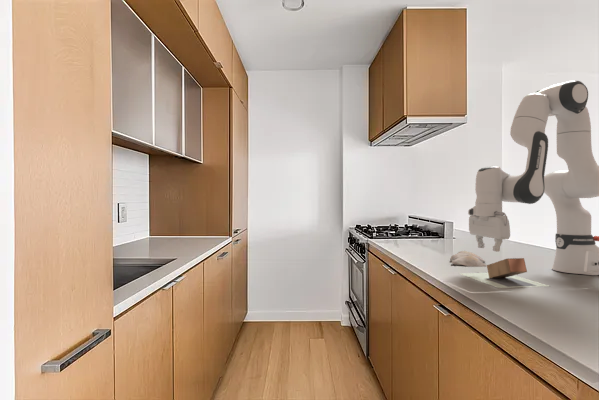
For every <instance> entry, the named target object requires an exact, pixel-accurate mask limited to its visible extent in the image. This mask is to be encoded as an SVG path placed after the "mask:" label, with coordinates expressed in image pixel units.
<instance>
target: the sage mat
mask: <svg viewBox="0 0 599 400" xmlns="http://www.w3.org/2000/svg"><path fill="white" fill-rule="evenodd" d="M458 274H459V275H461V276H464V277H467V278H470V279H472V280H475V281H478V282H481V283H483V284H486V285H489V286H491V287H495V288H497V289H505V288H506V289H508V288H509V289H510V288H511V289H512V288H531V287H532V288H536V287H537V288H539V287H540V288H541V287H550V285H549V284H545V283H542V282H538V281H534V280H532V279H528V278H525V277H523V276H518V275H514V276H510V277H506V278H489V274H488V272H464V273H463V272H462V273H459V272H458Z"/></svg>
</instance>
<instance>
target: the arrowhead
mask: <svg viewBox="0 0 599 400" xmlns="http://www.w3.org/2000/svg"><path fill="white" fill-rule="evenodd" d="M450 261H451V264H452V265H456V266H462V267H468V268H469V267H471V268H472V267H473V268H481V267H482V268H483V267H484V268H485V267H486V268H487V265H488V264H486V260H485V259H483V258H482V257H480V256H478V255H477V254H475V253H473V252H470V251H466V250H461V251H458V252H457V253H455V254H453V255H451V256H450Z"/></svg>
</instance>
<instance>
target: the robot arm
mask: <svg viewBox="0 0 599 400" xmlns="http://www.w3.org/2000/svg"><path fill="white" fill-rule="evenodd" d="M521 99H522V100H521V101H520V103H519V105H518V106H517V108H516V111H515V114H514V117H513V119H512V122H511V127H510V131H509V132H510V134H509V135H510V137H511V138H512V140H513V141H514V142H515V143H516V144H518V145H520V146H522V147H524V148H527V158H526V166H525V169H524V170H525V171H524V172H523V173H521V174H518V175H511V174H510V173H509V174H508V173H507V172H505V171H503V170H502V168H501V166H499V165H491V166H485V167H481V168H480V169H478V170H477V172H476V177H475V194H476V198H475V205H474V206H473V207H471V208H469V209H468V211H467V212H468V213H467V214H468V215H469V217H468V231H469V233H470V235H473V236H475V239H476V240H475V241H476V243H477V248H479V249H484V248H485V242H484V240H483V238H484V237H485V238H491V239H494V240H493V241H494V245H493V246H492V251H493V252H501V246H502V243H503V240H509V239H510V238H511V228H510V226H511V225H510V221H509V219H508V216H507V214H506V213H505V211H504V212H503V203H521V204H528V205H531V204H535V203H536V204H537V202H538V201H540V199H541V198H542V197H543V195H544V194H545V195H546V196H548V198H549V200H550V201H551V202H552V204H553V207H554V210H555V214H556V217H555V218H556V233H555V240H554V241H555V246H556V247H555V255H554V259H553V263H552V267H551V270H553V271H556V272H561V273H567V274H575V275H576V274H577V275H578V274H579V275H586V276H599V246H597V244H596V242H599V236H598V235H595V236H593V235H592V215H591V213H590V211H588V209H585V208H584V207H583V205H582V202H581V200H580V199H591V198H598V197H599V165H598V163H597V161H596V159H595V157H594V155H593V150H592V149H593V147H592V130H591V129H592V125H591V118H590V113H589V110H588V107H587V102H588V99H589V91H588V87H587V86H586V84H584V83H583V82H582V81H581V80H569V81H568V80H567V81H565V82H561V83H557V84H553V85H550V86H549V87H545V88H543V89H541V90H537V91H535V92H533V93H528V94H526V95H525V96H523V97H522V98H521ZM553 116H554V117H555V118H556V120H557V123H556V154H557V156H558V157H559V158H560V159H563V160H564V162H565V163H566V166H567V169H564V170H563V169H562V170H560V169H559V170H556V171H552V172H549V173H547V174H545V172H546V165H547V159H548V158H547V157H548V151H549V137H548V135H547V134H546V127H547V123H548V118H549V117H553Z"/></svg>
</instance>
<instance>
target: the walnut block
mask: <svg viewBox="0 0 599 400" xmlns="http://www.w3.org/2000/svg"><path fill="white" fill-rule="evenodd" d="M486 265H487V266H486V268H487V273H488V274H489V278H506V277H510V276H514V275H515V276H518V275H521V274H524V273H528V270H527V266H526V262H525V258H524V257H523V258H522V257H519V258H518V257H517V258H516V257H513V258H505V259H502V260H499V261H496V262H493V263H489V264H486Z"/></svg>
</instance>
